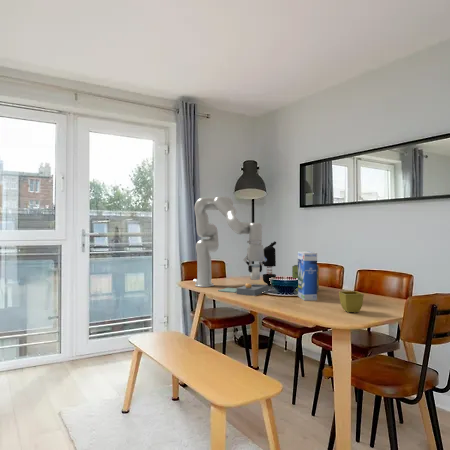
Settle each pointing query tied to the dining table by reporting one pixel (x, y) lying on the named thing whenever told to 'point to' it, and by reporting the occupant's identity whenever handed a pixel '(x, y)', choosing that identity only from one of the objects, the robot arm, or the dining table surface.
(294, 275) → the protein box
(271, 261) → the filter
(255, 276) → the dome-topped cylinder
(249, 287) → the release plunger
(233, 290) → the mat
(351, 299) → the flower pot
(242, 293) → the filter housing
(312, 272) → the string lights box
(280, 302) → the dining table surface
